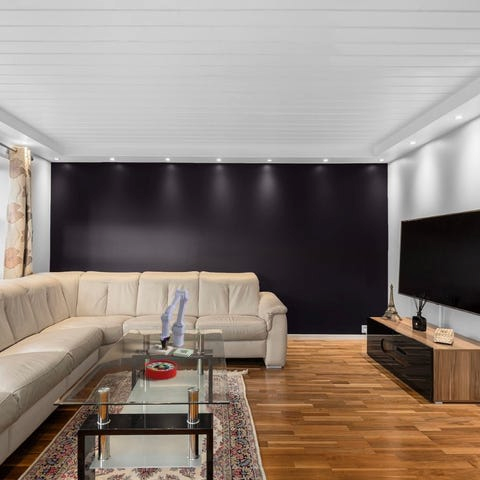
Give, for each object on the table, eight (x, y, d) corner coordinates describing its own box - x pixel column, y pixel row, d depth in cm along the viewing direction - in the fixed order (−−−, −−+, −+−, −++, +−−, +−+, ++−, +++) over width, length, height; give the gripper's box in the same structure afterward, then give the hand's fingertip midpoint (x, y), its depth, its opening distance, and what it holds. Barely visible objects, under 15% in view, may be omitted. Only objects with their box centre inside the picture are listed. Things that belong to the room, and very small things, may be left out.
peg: (162, 350, 316) (163, 339, 315) (167, 350, 315) (168, 340, 314) (160, 351, 312) (161, 341, 311) (165, 352, 311) (166, 342, 310)
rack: (178, 350, 317) (178, 347, 317) (193, 352, 315) (193, 349, 315) (172, 355, 306) (173, 352, 305) (188, 357, 303) (188, 354, 303)
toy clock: (143, 370, 259) (148, 359, 279) (142, 379, 260) (148, 367, 279) (175, 371, 260) (178, 360, 280) (174, 381, 261) (177, 369, 281)
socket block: (155, 346, 322) (155, 344, 322) (172, 349, 319) (172, 346, 319) (148, 352, 308) (148, 349, 308) (166, 355, 306) (166, 352, 305)
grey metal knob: (154, 348, 317) (154, 345, 317) (159, 349, 316) (159, 345, 316) (152, 350, 313) (152, 346, 313) (157, 351, 312) (157, 347, 312)
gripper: (164, 326, 320) (163, 343, 321) (156, 331, 306) (155, 349, 307) (172, 327, 319) (171, 344, 320) (166, 332, 304) (164, 350, 305)
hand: (164, 346), depth 313 cm, fingers closed on peg, 4 cm apart
